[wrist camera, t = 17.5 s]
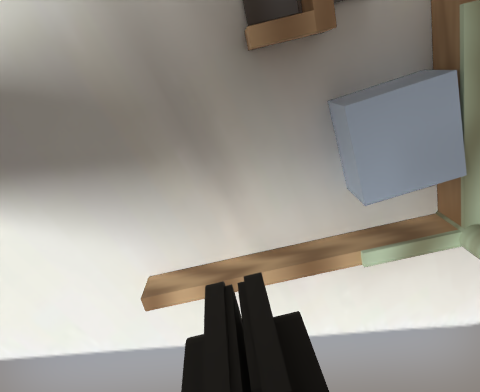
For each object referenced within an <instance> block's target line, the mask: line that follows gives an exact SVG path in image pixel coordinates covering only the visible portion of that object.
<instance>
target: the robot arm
mask: <svg viewBox="0 0 480 392" xmlns="http://www.w3.org/2000/svg"><path fill="white" fill-rule="evenodd" d="M237 284H238V292H239V300H240V307H241V314H240V310H239V307H238V303H237V300H236V296H235V293H234V289H233V286H232V284H231V285H227V286H226V285H225V283H224V281H222V282H218V283H214V284H210V285H206V286H205V315H204V334H202V335H198V336H194V337H190V338H187V340H186V345H185V357H184V368H183V380H182V391H181V392H329V390H328V387H327V385H326V382H325V379H324V376H323V374H322V371H321V369H320V366H319V363H318V360H317V358H316V355H315V352H314V350H313V347H312V344H311V342H310V339H309V336H308V333H307V330H306V328H305V325H304V322H303V320H302V317H301V314H300V312H299V311H297V312H293V313H289V314H285V315H281V316H277V317H273V316H272V312H271V308H270V304H269V300H268V296H267V292H266V288H265V284H264V280H263V277H262V273H261V272H259V273H255V274H251V275H247V276H244V281H243V282H239V283H237ZM241 315H242V318H241Z"/></svg>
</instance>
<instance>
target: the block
mask: <svg viewBox="0 0 480 392" xmlns="http://www.w3.org/2000/svg"><path fill="white" fill-rule="evenodd" d="M328 104H329V109H330V113H331V118H332V122H333V127H334V131H335V136H336V140H337V144H338V149H339V153H340V158H341V162H342V167H343V171H344V176H345V180H346V185H347V189H348V190H349V191H350V192H351V193H352V194H353V195H354V196H355V197H356V198H358V199H359V200H360V201H361V202H362V203H363V204H364V205H365V206H367V205H370V204H373V203H377V202H380V201H383V200H386V199H390V198H393V197H396V196H400V195H403V194H406V193H410V192H413V191H416V190H420V189H423V188H426V187H429V186H433V185H436V184H439V183H443V182H446V181H449V180H453V179H456V178H459V177H463V176H466V175H467V173H466V163H465V152H464V141H463V131H462V120H461V109H460V99H459V88H458V77H457V70H422V71H419V72H415V73H412V74H409V75H406V76H403V77H400V78H397V79H394V80H391V81H388V82H385V83H382V84H379V85H376V86H373V87H370V88H367V89H363V90H360V91H357V92H354V93H351V94H348V95H345V96H342V97H339V98H336V99H333V100H330V101H328Z"/></svg>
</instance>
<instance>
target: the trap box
mask: <svg viewBox="0 0 480 392" xmlns="http://www.w3.org/2000/svg"><path fill="white" fill-rule="evenodd" d="M339 1H343V0H301V6H302V13H300V14H298V13H299V10H298V4H297V0H243V3H244V9H245V14H246V19H247V24H248V26H247V28H246V30H245V37H246V42H247V46H248V51H249V50H253V49H257V48H261V47H265V46H269V45H274V44H278V43H282V42H286V41H290V40H294V39H298V38H302V37H306V36H310V35H314V34H319V33H323V32H326V31H328V30H331V29H333V28H336V27H337V25H336V17H335V8H334V3H335V2H339ZM294 14H296V15H294ZM290 15H292V16H290ZM431 15H432V45H433V70H457V77H458V88H459V99H460V109H461V120H462V131H463V141H464V152H465V163H466V173H467V175H466V176H463V177H459V178H456V179H453V180H449V181H446V182H443V183H439V184H437V197H438V211H437V213H436V214H432V215H428V216H423V217H418V218H414V219H409V220H405V221H400V222H396V223H391V224H387V225H382V226H378V227H373V228H369V229H364V230H359V231H355V232H350V233H346V234H341V235H337V236H332V237H328V238H323V239H319V240H314V241H310V242H305V243H300V244H296V245H291V246H287V247H282V248H278V249H273V250H269V251H264V252H260V253H255V254H250V255H246V256H241V257H237V258H232V259H228V260H223V261H219V262H214V263H210V264H205V265H201V266H196V267H191V268H187V269H182V270H178V271H173V272H169V273H164V274H160V275H155V276H151V277H149V278H148V280H147V283H146V286H145V288H144V291H143V294H142V297H141V301H142V303H143V306H144V309H145V311H150V310H154V309H159V308H164V307H168V306H173V305H177V304H182V303H187V302H191V301H196V300H201V299H205V286H206V285H210V284H214V283H218V282H222V281H224V283H225V285H226V286H227V285H231V284H232V286H233V289H234V292H238V284H237V283H239V282H243V281H244V276H247V275H251V274H255V273H259V272H261V273H262V277H263V280H264V284H265V285H270V284H275V283H279V282H284V281H288V280H293V279H298V278H302V277H307V276H312V275H316V274H321V273H325V272H330V271H335V270H339V269H344V268H349V267H353V266H358V265H363V266H364V267H368V266H373V265H377V264H382V263H387V262H391V261H396V260H401V259H405V258H410V257H415V256H419V255H424V254H428V253H433V252H438V251H442V250H447V249H452V248H456V247H461V246H462V247H464V248H465V249H466V250H468V251H469V252H470V253H472V254H473V255H474V256H476V257H477V258H478V259H480V0H431ZM286 16H288V17H286ZM282 17H284V18H282ZM278 18H280V19H278ZM273 19H276V20H273ZM269 20H272V21H269ZM265 21H268V22H265ZM261 22H264V23H261ZM257 23H260V24H257ZM253 24H256V25H253ZM249 25H251V26H249Z"/></svg>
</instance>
